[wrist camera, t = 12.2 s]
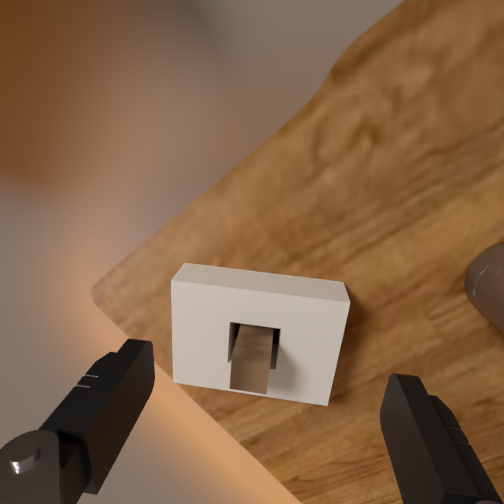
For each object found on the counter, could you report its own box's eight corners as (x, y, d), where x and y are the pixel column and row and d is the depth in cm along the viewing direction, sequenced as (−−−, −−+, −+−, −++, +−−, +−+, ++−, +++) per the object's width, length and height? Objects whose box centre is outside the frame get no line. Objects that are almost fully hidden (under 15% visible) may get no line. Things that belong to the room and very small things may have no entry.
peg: (275, 312, 41) (270, 364, 32) (271, 337, 43) (266, 394, 34) (244, 307, 42) (231, 359, 32) (242, 332, 43) (229, 388, 34)
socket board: (343, 281, 39) (350, 302, 34) (323, 377, 44) (327, 405, 40) (184, 262, 40) (171, 280, 36) (185, 356, 46) (173, 382, 41)
